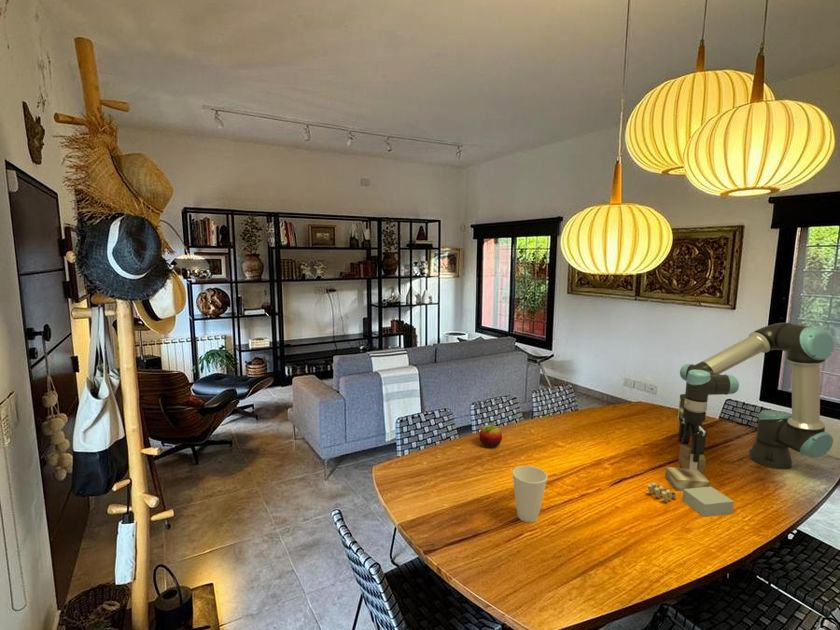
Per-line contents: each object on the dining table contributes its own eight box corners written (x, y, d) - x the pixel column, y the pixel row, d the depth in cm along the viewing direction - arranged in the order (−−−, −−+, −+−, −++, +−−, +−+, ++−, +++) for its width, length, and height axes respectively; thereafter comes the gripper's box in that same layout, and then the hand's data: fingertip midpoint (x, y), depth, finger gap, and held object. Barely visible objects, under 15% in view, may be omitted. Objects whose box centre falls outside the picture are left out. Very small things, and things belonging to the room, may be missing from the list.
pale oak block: (695, 480, 182) (696, 469, 181) (708, 493, 172) (709, 481, 171) (664, 478, 183) (666, 467, 182) (675, 491, 173) (677, 479, 172)
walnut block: (690, 462, 179) (692, 444, 178) (698, 469, 174) (700, 449, 173) (678, 462, 179) (680, 444, 177) (686, 469, 174) (688, 450, 172)
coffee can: (702, 426, 237) (705, 400, 234) (681, 424, 238) (684, 399, 236) (694, 418, 247) (696, 394, 244) (674, 417, 248) (676, 393, 246)
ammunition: (664, 493, 163) (678, 488, 166) (646, 483, 169) (659, 479, 173) (663, 505, 164) (677, 499, 167) (645, 495, 170) (658, 490, 174)
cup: (538, 530, 148) (541, 486, 145) (505, 519, 154) (507, 476, 151) (549, 513, 158) (551, 471, 155) (517, 502, 164) (519, 462, 161)
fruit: (505, 443, 213) (505, 424, 211) (496, 452, 204) (497, 431, 202) (484, 438, 218) (485, 419, 217) (475, 446, 209) (475, 426, 208)
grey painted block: (709, 498, 169) (711, 486, 168) (732, 514, 159) (734, 501, 158) (682, 501, 166) (683, 489, 166) (703, 517, 157) (705, 504, 156)
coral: (710, 472, 188) (712, 455, 186) (693, 475, 185) (695, 458, 184) (691, 462, 196) (693, 446, 195) (674, 464, 194) (676, 448, 193)
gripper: (671, 401, 181) (665, 454, 185) (700, 418, 163) (693, 476, 167) (689, 401, 182) (683, 454, 185) (720, 418, 164) (713, 476, 167)
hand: (688, 464), depth 176 cm, fingers closed on walnut block, 5 cm apart
